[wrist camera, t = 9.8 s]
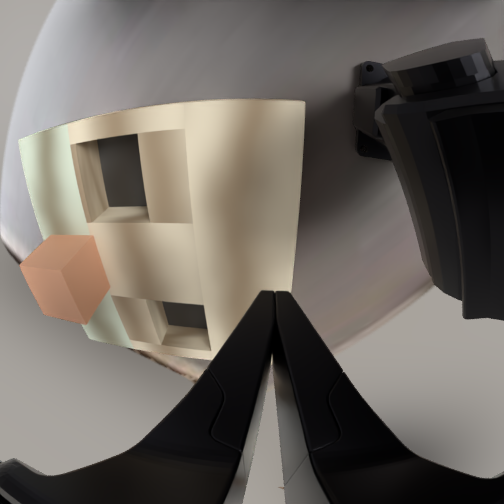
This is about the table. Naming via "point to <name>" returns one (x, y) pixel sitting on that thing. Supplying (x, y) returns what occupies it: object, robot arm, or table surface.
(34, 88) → the table surface
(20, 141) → the cream flat piece
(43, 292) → the block
